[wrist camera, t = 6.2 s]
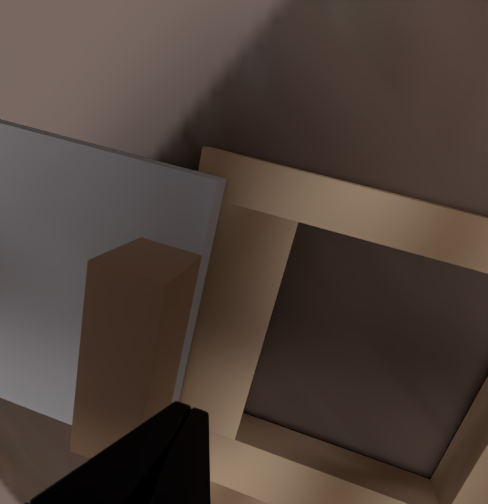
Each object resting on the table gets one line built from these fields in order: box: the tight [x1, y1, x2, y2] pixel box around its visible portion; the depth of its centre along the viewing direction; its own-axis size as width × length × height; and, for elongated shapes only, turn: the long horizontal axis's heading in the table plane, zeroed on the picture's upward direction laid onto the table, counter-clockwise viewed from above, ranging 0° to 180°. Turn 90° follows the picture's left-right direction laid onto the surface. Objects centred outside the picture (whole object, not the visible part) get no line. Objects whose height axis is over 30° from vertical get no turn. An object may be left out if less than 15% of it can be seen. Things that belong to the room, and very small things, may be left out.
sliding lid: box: [0, 119, 227, 459], centre depth 11 cm, size 10×10×4 cm
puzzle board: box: [179, 146, 488, 504], centre depth 13 cm, size 17×23×2 cm
